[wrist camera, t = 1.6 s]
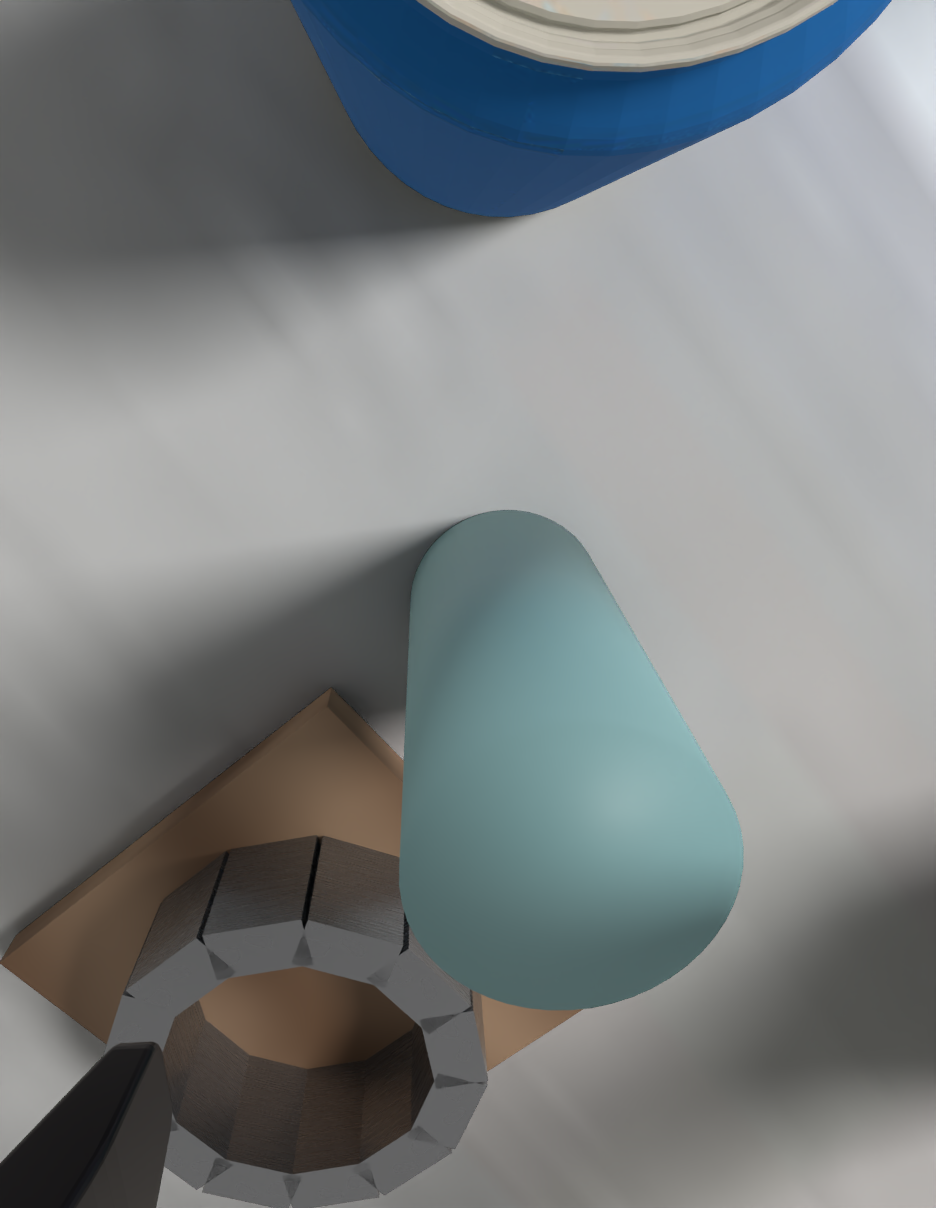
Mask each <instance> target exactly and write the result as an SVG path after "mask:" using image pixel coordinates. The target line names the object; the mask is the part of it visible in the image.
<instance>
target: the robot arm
mask: <svg viewBox="0 0 936 1208" xmlns="http://www.w3.org/2000/svg"><path fill="white" fill-rule="evenodd" d="M171 1123H172V1102H171V1096H170V1090H169V1085H168V1080H167V1074H166V1069H165V1063H164V1058H163V1053H162V1050H161V1048H160V1046H159V1044H157V1043H155V1042H132V1043H120V1044H117V1045H115V1046H114V1047H112V1048H111V1049H110V1050H109V1051H108V1052H107V1053H106V1054H105V1055H104V1056H103V1057H102V1058H101V1059H100V1060H99V1061H98V1062H97V1063H96V1064H95V1065H94V1066H93V1067H92V1068H91V1069H90V1070H89V1071H88V1072H87V1073H86V1074H85V1075H84V1076H83V1078H82V1079H81V1080H80V1081H79V1082H78V1083H77V1084H76V1085H75V1086H74V1087H73V1088H72V1089H71V1090H70V1091H69V1092H68V1093H67V1094H66V1095H65V1096H64V1097H63V1098H62V1099H61V1100H60V1101H59V1102H58V1104H57V1105H56V1106H55V1107H54V1108H53V1109H52V1110H51V1111H50V1112H49V1113H48V1114H47V1115H46V1116H45V1117H44V1118H43V1119H42V1120H41V1121H40V1122H39V1123H38V1124H37V1125H36V1126H35V1127H34V1129H33V1130H32V1131H31V1132H30V1133H29V1134H28V1135H27V1136H26V1137H25V1138H24V1139H23V1140H22V1141H21V1142H20V1143H19V1144H18V1145H17V1146H16V1147H15V1148H14V1149H13V1150H12V1151H11V1152H10V1153H9V1155H8V1156H7V1157H6V1158H5V1159H4V1160H3V1161H2V1162H1V1163H0V1208H156V1206H157V1200H158V1195H159V1190H160V1184H161V1179H162V1174H163V1168H164V1163H165V1158H166V1152H167V1147H168V1142H169V1136H170V1131H171Z"/></svg>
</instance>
